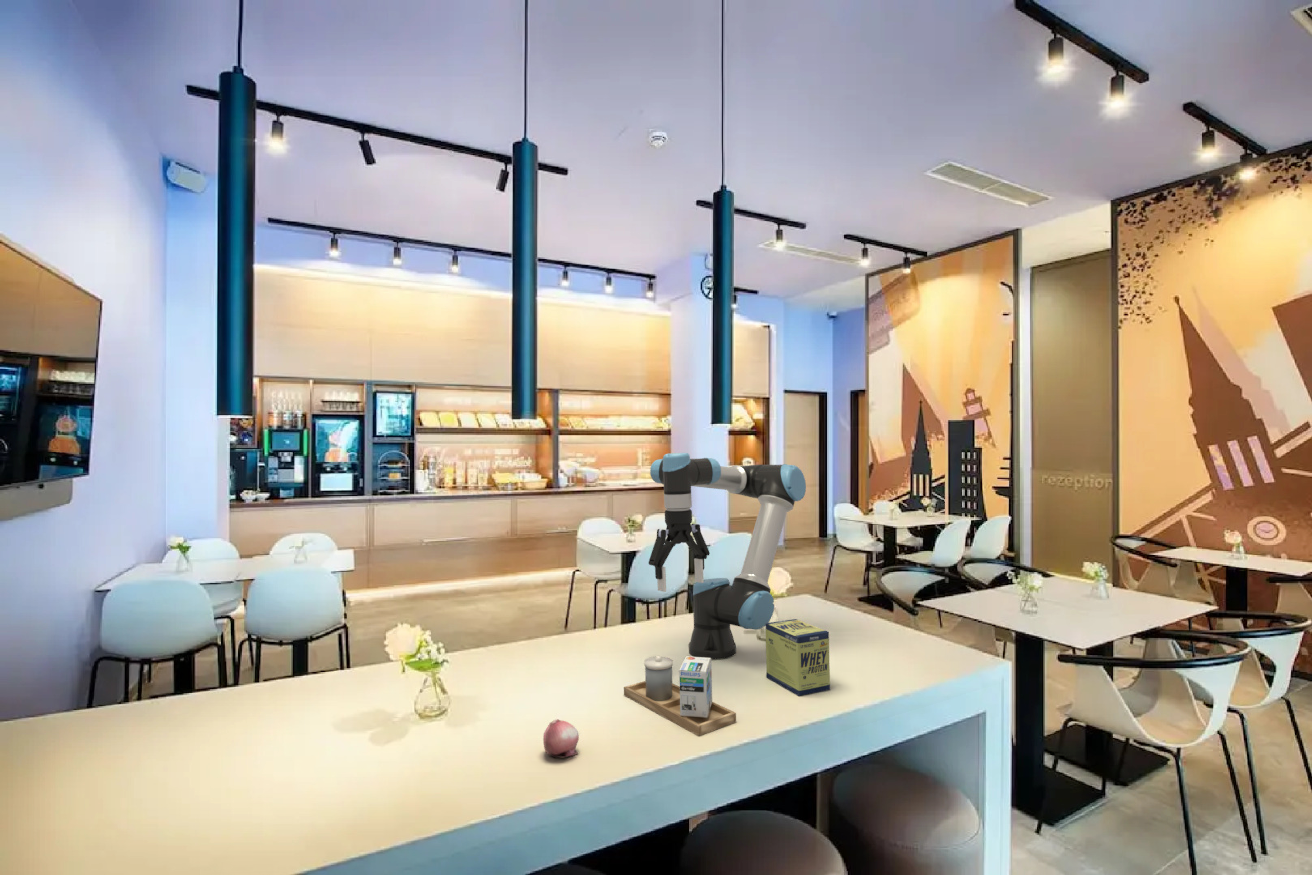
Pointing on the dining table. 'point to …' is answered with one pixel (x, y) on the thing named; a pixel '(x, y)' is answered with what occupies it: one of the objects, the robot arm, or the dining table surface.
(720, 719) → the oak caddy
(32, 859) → the dining table surface
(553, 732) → the onion
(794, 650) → the protein box
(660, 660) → the slate jar
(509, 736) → the dining table surface
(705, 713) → the light bulb box
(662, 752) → the dining table surface
